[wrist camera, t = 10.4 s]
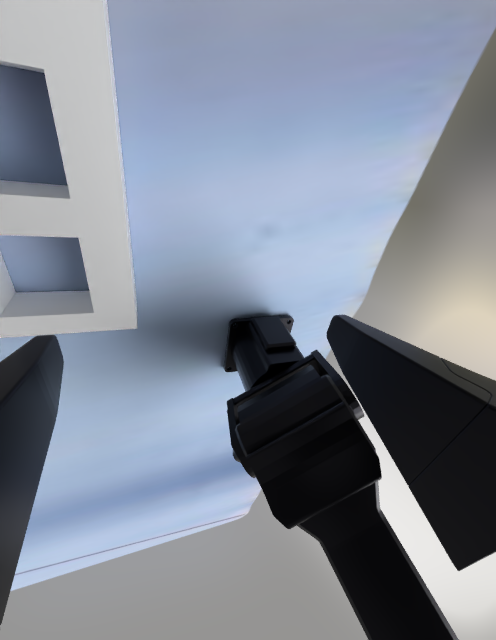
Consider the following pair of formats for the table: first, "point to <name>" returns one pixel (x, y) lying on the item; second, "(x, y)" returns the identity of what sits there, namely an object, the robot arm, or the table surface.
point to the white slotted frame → (70, 170)
